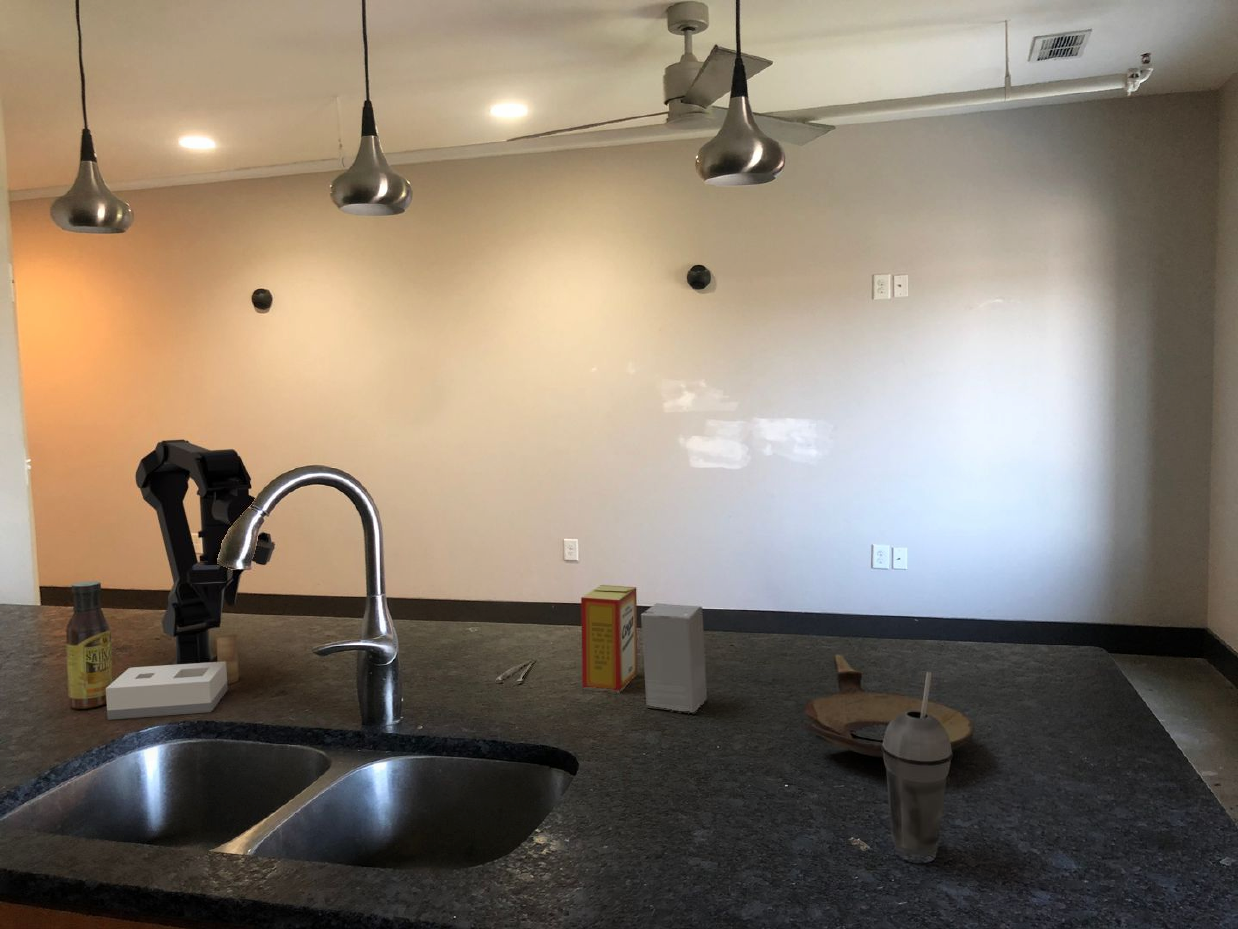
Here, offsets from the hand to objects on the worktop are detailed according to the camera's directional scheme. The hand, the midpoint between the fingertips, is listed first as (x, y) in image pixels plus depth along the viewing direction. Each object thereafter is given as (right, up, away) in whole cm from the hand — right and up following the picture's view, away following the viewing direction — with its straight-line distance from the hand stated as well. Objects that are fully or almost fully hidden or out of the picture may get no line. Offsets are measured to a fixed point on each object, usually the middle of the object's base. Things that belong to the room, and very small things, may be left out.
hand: (224, 612), depth 151 cm
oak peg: (0, -12, +1) cm, 12 cm away
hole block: (-4, -13, -10) cm, 17 cm away
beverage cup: (+100, -17, -57) cm, 116 cm away
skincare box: (+77, -13, -13) cm, 79 cm away
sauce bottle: (-18, -14, -9) cm, 24 cm away
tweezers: (+51, -12, +6) cm, 53 cm away
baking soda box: (+67, -12, -2) cm, 68 cm away
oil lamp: (+106, -14, -27) cm, 110 cm away
